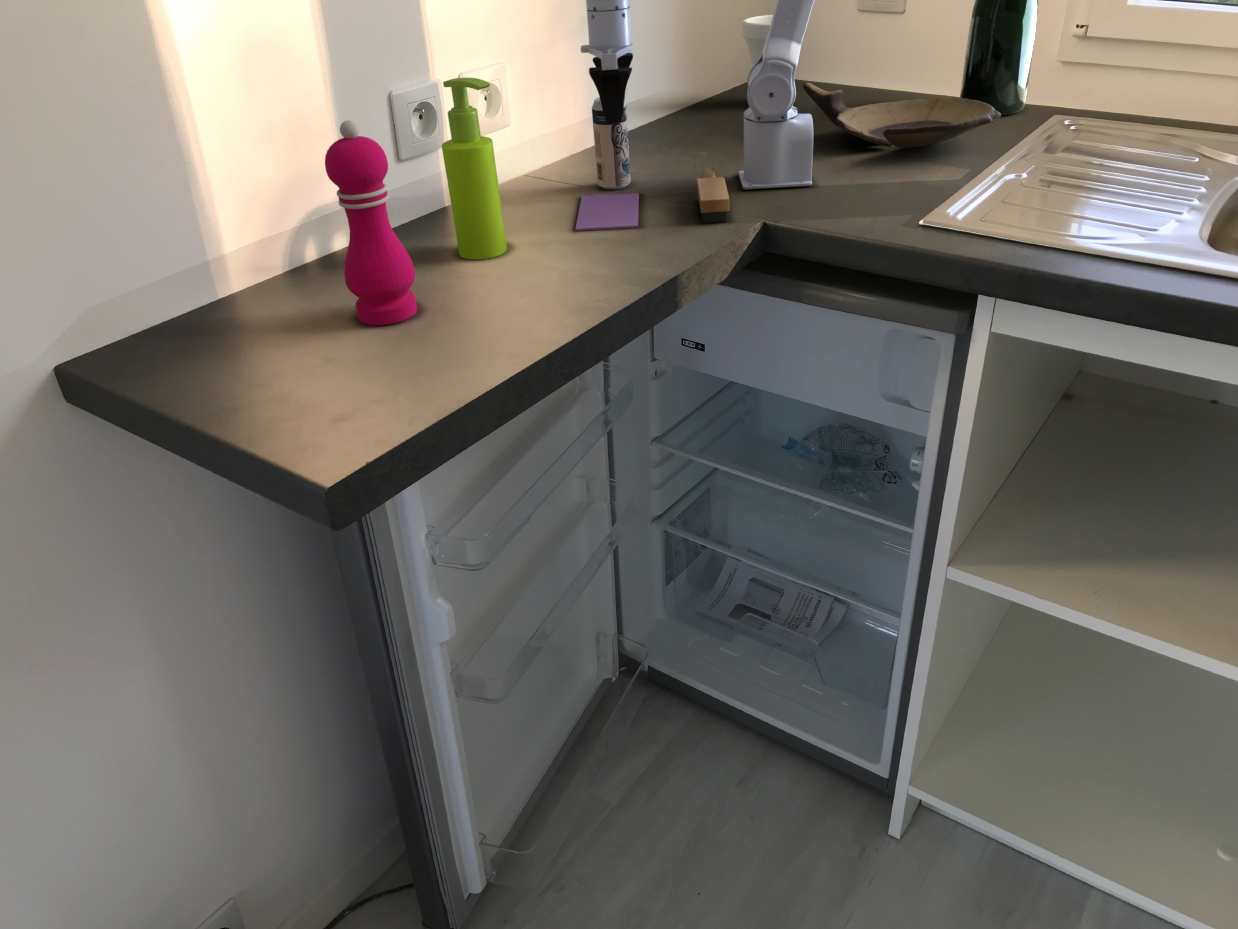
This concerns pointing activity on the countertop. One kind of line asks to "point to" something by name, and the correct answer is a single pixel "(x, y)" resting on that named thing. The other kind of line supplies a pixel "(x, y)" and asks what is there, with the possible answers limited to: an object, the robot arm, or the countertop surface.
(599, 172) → the beer can
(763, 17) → the cup
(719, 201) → the hand brush
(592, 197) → the cloth
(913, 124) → the brown handled bowl
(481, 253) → the soap dispenser
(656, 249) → the countertop surface
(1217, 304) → the countertop surface
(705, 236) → the countertop surface
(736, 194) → the countertop surface
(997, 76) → the beer bottle
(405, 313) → the pepper mill
